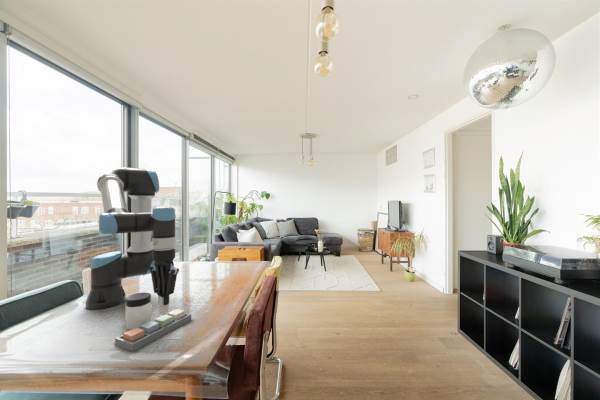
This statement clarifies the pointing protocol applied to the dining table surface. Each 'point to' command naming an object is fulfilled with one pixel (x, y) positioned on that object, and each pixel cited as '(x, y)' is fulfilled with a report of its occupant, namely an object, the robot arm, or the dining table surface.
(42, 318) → the dining table surface
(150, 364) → the dining table surface
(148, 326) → the key slate
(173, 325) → the grey compartment tray
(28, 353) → the dining table surface
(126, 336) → the key terracotta
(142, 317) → the jar
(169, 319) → the key sage
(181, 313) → the key cream
